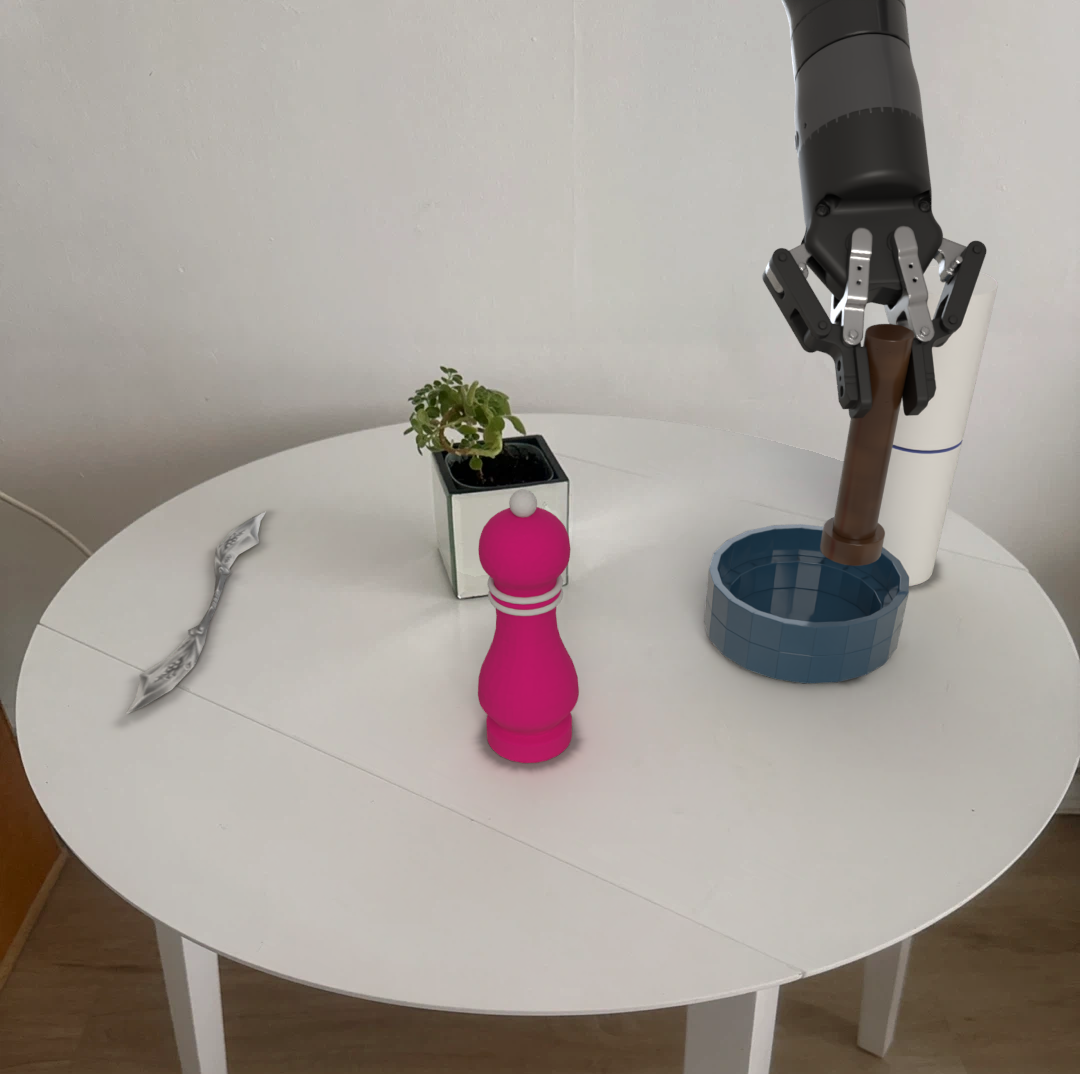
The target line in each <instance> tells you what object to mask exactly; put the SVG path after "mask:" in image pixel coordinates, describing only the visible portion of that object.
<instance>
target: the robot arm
mask: <svg viewBox="0 0 1080 1074" xmlns="http://www.w3.org/2000/svg"><path fill="white" fill-rule="evenodd" d="M781 3H782V6H783V7H784V10H785V11H784V12H785V14H786V17H787V21H788V25H789V39H790V40H789V42H790V53H791V62H792V73H793V83H794V109H793V111H794V113H793V114H794V115H793V116H794V117H793V119H794V120H793V121H794V138H793V139H794V140H793V141H794V148H795V151H796V154H797V163H798V172H799V181H800V190H801V201H802V208H803V209H802V211H803V221H804V224H805V232H804V235H803V238H802V239H801V242H800V244H799V245H797V246H795V247H793V248H791V249H790V250H789V249H788V248H784V247H779V248H777V249H775V250H774V251H773V253H772V255H771V257H770V259H769V261H768V263H767V265H766V266H765V269H764V271H763V273H762V275H761V278H762V282H763V283H764V285H765V287H766V288H767V290H768V292H769V293H770V296H771V297H772V299H773V300H774V302H775V304H776V305H777V307H778V309H779V311H780V312H781V314H782V316H783V317H784V319H785V322H787V325H788V326H789V328H790V329H791V331H792V333H793V334H794V336H795V338H796V340H797V342H798V343H799V345H800V346H801V348H802V349H803V350H804V351H805V352H807V353H809V354H813V353H816V352H821V353H823V354H826V355H828V356H830V358H832V360H833V362H834V369H835V370H834V371H835V379H836V388H837V389H836V390H837V399H838V403H839V405H840V407H841V409H842V410H848V415H849V419H851V418H863V417H864V416H865V415H866V414H867V413H868V412H869V411H870V410H871V407H872V391H871V382H870V372H869V363H868V354H867V347H866V346H864V347H863V346H862V341H863V340H864V328H865V327H864V326H865V311H866V307H867V304H870V303H873V304H877V305H882V306H883V308H884V311H885V315H886V318H887V322H888V324H894V325H900V326H903V327H906V328H909V329H910V330H912V331H913V332H914V339H913V344H912V349H911V354H910V359H909V365H908V370H907V375H906V380H905V385H904V390H903V395H902V401H903V410H904V414H905V415H906V416H913V415H919V414H920V413H921V412H922V411H923V410H924V409H925V408H926V407H927V405H928V402H929V401H930V400H931V399H932V398H933V397H934V395H935V391H936V381H935V373H934V364H933V355H932V347H941V346H943V345H944V344H945V343H946V342H947V340H948V338H949V337H950V336H951V335H952V334H953V333H954V332H956V331H957V330H958V329H959V328H960V327H961V325H962V322H963V319H964V316H965V314H966V311H967V308H968V305H969V302H970V299H971V296H972V293H973V290H974V287H975V284H976V282H977V279H978V276H979V273H980V272H981V270H982V267H983V264H984V261H985V258H986V255H987V247H986V245H985V244H984V243H983V242H982V241H980V240H972V241H970V242H969V243H968V244H967V245H963V244H961V243H958V242H955V241H953V240H950V239H948V238H945V237H944V233H943V229H942V227H941V225H940V224H939V222H938V221H937V220H936V218H935V216H934V214H933V208H932V207H933V205H932V203H933V201H932V200H933V195H932V194H933V193H932V192H933V191H932V184H931V183H932V182H931V174H930V173H931V172H930V166H929V164H930V163H929V158H928V157H929V156H928V148H927V147H928V146H927V140H926V129H925V123H924V115H923V113H924V112H923V104H922V97H921V90H920V89H921V88H920V83H919V80H918V76H917V73H916V69H915V65H914V63H913V57H912V50H911V49H912V48H911V41H910V39H911V38H910V32H909V22H908V14H907V6H906V0H781ZM933 259H934V260H935V261H936V262H937V265H938V266H939V276H940V281H941V282H945V285H944V288H943V291H942V294H941V297H940V300H939V303H938V305H937V308H936V311H935V314H934V317H933V320H931V316H930V313H929V309H928V305H927V301H928V290H927V286H926V283H925V279H924V275H923V274H924V273H925V271H926V269H927V268H928V266H930V264H931V263H932V261H933ZM809 269H810V271H812V272H813V274H814V275H815V276H816V277H817V278H818V279H819V280H820V282H821V283H822V284H823V285H824V286H825V287H826V289H827V290H829V292H830V293H831V298H830V299H831V300H830V317H829V315H828V313H827V312H826V310H825V309H824V307H823V305H822V303H821V302H820V300H819V298H818V296H817V295H816V293H815V292H814V290H813V288H812V286H811V284H810V282H809V281H808V277H809V274H810V273H809Z"/></svg>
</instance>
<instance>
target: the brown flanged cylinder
mask: <svg viewBox="0 0 1080 1074" xmlns="http://www.w3.org/2000/svg"><path fill="white" fill-rule="evenodd" d="M913 339H914V332H913V331H912V330H910V329H909V328H906V327H903V326H900V325H894V324H889V323H877V324H873V325H870V326H868V327H867V328H866V329H865V332H864V336H863V343H862V347H864V346H866V347H867V354H868V363H869V372H870V382H871V391H872V407H871V410H870V411H869V412H868V413H867V414H866V415H865V416H864V417H863V418H850V421H849V425H848V426H849V427H848V433H847V439H846V444H845V450H844V455H843V456H844V457H843V462H842V469H841V473H840V480H839V486H838V491H837V492H838V493H837V498H836V503H835V510H834V515H833V517H830V518H829V519H827V520H826V521H825V522H824V523H823V525H822V526H823V531H822V538H821V544H820V550H821V552H822V553H823V555H824V556H825V557H827V558H828V559H830V560H832V561H834V562H837V563H840V564H844V565H852V566H861V565H867V564H871V563H873V562H875V561H877V560H878V559H879V557H880V556H881V552H882V547H883V542H884V537H885V531H884V528H883V527H882V526H881V525H880V524H879V523H878V518H879V513H880V508H881V503H882V498H883V493H884V488H885V483H886V477H887V472H888V467H889V462H890V457H891V452H892V447H893V442H894V436H895V431H896V426H897V421H898V416H899V411H900V406H901V400H902V395H903V390H904V385H905V380H906V375H907V370H908V365H909V359H910V354H911V349H912V344H913Z"/></svg>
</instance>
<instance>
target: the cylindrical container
mask: <svg viewBox="0 0 1080 1074" xmlns="http://www.w3.org/2000/svg"><path fill="white" fill-rule="evenodd" d="M923 275H924V279H925V283H926V286H927V290H928V301H927V305H928V309H929V313H930V316H931V320H933V317H934V314H935V311H936V308H937V305H938V303H939V300H940V297H941V294H942V291H943V288H944V285H945V282H941V281H940V276H939V265H929V266H928V268H927V269H926V271H925V273H924V274H923ZM998 286H999V282H998V281H997V279H995V278H994V277H993V276H992V275H990V274H988V273H986V272H983V271H980V273H979V276H978V279H977V282H976V284H975V287H974V290H973V293H972V296H971V299H970V302H969V305H968V308H967V311H966V314H965V316H964V319H963V322H962V325H961V327H960V328H959V329H958V330H957V331H956V332H954V333H953V334H952V335H951V336H950V337H949V338H948V340H947V342H946V343H945V344H944V345H943V346H941V347H932V355H933V364H934V373H935V381H936V391H935V395H934V397H933V398H932V399H931V400H930V401H929V402H928V405H927V407H926V408H925V409H924V410H923V411H922V412H921V413H920V414H919V415H913V416H906V415H905V414H904V410H903V401H902V400H901V406H900V411H899V416H898V421H897V426H896V431H895V436H894V442H893V447H892V452H891V457H890V462H889V467H888V472H887V477H886V483H885V488H884V493H883V498H882V503H881V508H880V513H879V518H878V523H879V524H880V525H881V526H882V527H883V528H884V531H885V537H884V542H883V547H884V548H885V549H886V550H887V551H889V552H890V553H891V554H892V555H894V556H895V557H896V558H897V559H898V560H899V561H900V562H901V563H902V565H903V567H904V569H905V570H906V572H907V574H908V576H909V587H912V586H913V587H914V586H917V585H920V584H922V583H925V582H926V581H928V580H929V579H930V578H931V577H932V576H933V572H934V568H935V564H936V559H937V555H938V550H939V548H940V547H939V546H940V542H941V539H942V533H943V528H944V524H945V520H946V516H947V511H948V506H949V502H950V497H951V493H952V488H953V485H954V480H955V477H956V471H957V468H958V462H959V459H960V454H961V450H962V445H963V441H964V436H965V431H966V427H967V423H968V418H969V414H970V411H971V410H970V409H971V405H972V400H973V396H974V392H975V388H976V383H977V379H978V375H979V371H980V365H981V361H982V357H983V353H984V348H985V343H986V339H987V335H988V331H989V325H990V321H991V317H992V313H993V309H994V304H995V300H996V295H997V291H998Z"/></svg>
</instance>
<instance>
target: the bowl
mask: <svg viewBox="0 0 1080 1074" xmlns="http://www.w3.org/2000/svg"><path fill="white" fill-rule="evenodd" d="M823 526H824V525H821V526H820V525H813V524H806V523H805V524H804V523H798V524H797V523H796V524H794V523H793V524H773V525H768V526H763V527H758V528H755V529H754V528H753V529H749V530H745V531H743V532H742V533H740V534H739V533H738V534H737V535H735V536H733V537H730V538H729V539H727V540H725V542H723V543H722V544H721V545H720V546H719V547H718V548H717V549H716V550H715V551H714V552H713V554H712V556H711V560H710V563H709V567H708V573H707V574H708V575H707V585H706V596H705V597H706V598H705V605H704V606H705V607H704V620H703V624H704V627H705V629H706V634H707V637H708V639H709V641H710V642H711V643H712V644H713V645H714V647H716V649H717V650H718V651H719V652H720V653H721V654H722V656H724V657H725V658H727V659H729V660H730V661H732V662H734V663H735V664H737V665H738V666H740V667H741V668H743V669H745V670H747V671H751V672H753V673H755V674H759V675H761V676H764V677H768V678H770V679H774V680H779V681H784V682H785V681H786V682H789V683H790V682H791V683H801V684H807V685H808V684H809V685H810V684H828V683H831V684H832V683H841V682H845V681H849V680H852V679H857V678H860V677H863V676H867V675H869V674H870V673H872V672H874V671H875V670H877V669H879V668H881V667H882V666H884V665H886V664H887V662H888V661H889V660H890V658H891V657H892V655H893V654H894V653H895V651H896V650H897V648H898V644H899V640H900V635H901V631H902V625H903V622H904V616H905V612H906V607H907V602H908V599H909V593H910V586H909V576H908V574H907V572H906V570H905V569H904V567H903V565H902V563H901V562H900V561H899V560H898V559H897V558H896V557H895V556H894V555H892V554H891V553H890V552H889V551H887V550H886V549H885V548H884V547H882V552H881V556H880V557H879V559H878V560H877V561H875V562H873V563H871V564H867V565H861V566H852V565H844V564H840V563H837V562H834V561H832V560H830V559H828V558H827V557H825V556H824V555H823V553H822V552H821V550H820V544H821V538H822V531H823Z"/></svg>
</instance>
